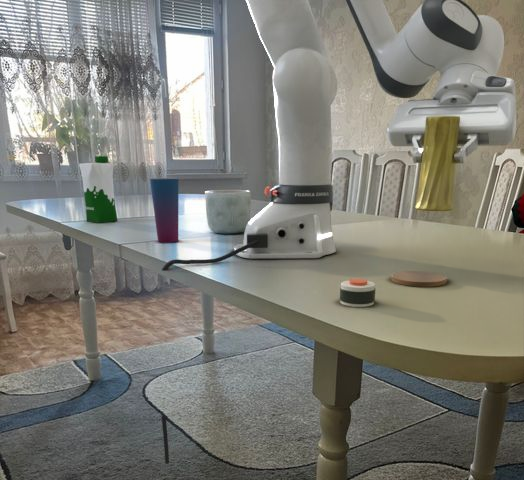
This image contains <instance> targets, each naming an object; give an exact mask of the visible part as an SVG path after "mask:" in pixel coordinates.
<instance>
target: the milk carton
mask: <svg viewBox="0 0 524 480" xmlns="http://www.w3.org/2000/svg"><path fill="white" fill-rule="evenodd" d="M114 164H115V163H113V162H109V157H108V156H106V155H105V156H104V155H103V156H102V155H100V156H98V155H96V156H94V162H86V163H78V166H79V169H80V174H81V179H82V187H83V195H84V204H85V215H86V217H85V218H86V222H89V223H96V224H101V223H103V224H104V223H110V222H118V214H117V209H116V208H117V207H116V201H115V189H114V179H113V177H114V176H113V175H114Z"/></svg>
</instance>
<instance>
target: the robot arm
mask: <svg viewBox="0 0 524 480" xmlns="http://www.w3.org/2000/svg"><path fill="white" fill-rule="evenodd" d="M245 2H246V3H247V6H248V10H249V12H250V15H251V17H252V20H253V23H254V24H255V28H256V31H257V34H258V36H259V39H260V41H261V43H262V44H263V47H264V49H265V51H266V52H267V55H268V57H269V60H270V61H271V63H272V66H273V70H272V87H273V97H274V110H275V122H276V131H277V138H278V184H276V185H275V186H273V187H272V186H270V185H269V186H266V187H265V188H264V190H263V192H264V194H265V195H266V197H269V204H268V205H266V206H265V207H264V208H263V209H262V210H260V211H259V212H258V213H257V214H255V215H254V216H253V217H252V218H250V221H249V222H248V223H247V225H246V228H245V231H244V232H243V241H242V242H243V243H241V244H240V243H238V244H236V245H234V247H233V251H231V252H228V253H226V254H223V255H221V256H219V257H216V258H207V259H171V260H169V261H167V262H166V263H165V264H164V266H163V267H161V271H162V272H163V271H164V272H165V271H167V270H168V269H169V268H170V267H171V266H174V265H205V264H206V265H209V264H216V263H219V262H223V261H225V260H227V259H230V258H231V257H234V256H238V257H240V258H245V259H252V260H253V259H319V258H321V257H323V256H326V255H331V254H334V253H336V252H337V249H336V246H335V245H336V244H335V239H334V235H333V234H334V233H333V226H332V211H333V205H334V186H333V184H332V164H333V163H332V162H333V139H332V138H333V137H332V136H333V135H332V112H331V111H332V109H331V106H332V104H333V103H334V101H335V99H336V96H337V93H338V78H337V74H336V72H335V69H334V66H333V63H332V61H331V58H330V56H329V55H330V54H329V52H328V50H327V47H326V45H325V42H324V39H323V37H322V34H321V32H320V29H319V25H318V23H317V20H316V18H315V16H314V13H313V11H312V6H311V4H310V2H309V0H245ZM345 3H346V5H347V7H348V9H349V12H350V14H351V16H352V18H353V21H354V22H355V25H356V27H357V29H358V32H359V34H360V37H361V39H362V41H363V43H364V45H365V47H366V50H367V52H368V54H369V57H370V60H371V63H372V67H373V71H374V74H375V77H376V81H377V83H378V85H379V87H380V88H381V89H382V90H383V92H385V93H386V94H387V95H389V96H391V97H394V98H398V99H409V100H408V101H406V102H404V103H402V104H399V106H398V107H397V109H396V112H395V114H394V115H393V117H391V120H390V122H389V124H388V126H387V136H388V140H389V142H390V144H391V145H392V147H413V152H412V153H413V154H412V161H413V164H422V154H423V147H424V136H425V125H426V117H433V116H460V125H459V135H458V148H456V151H455V152H456V153H455V154H454V160H455V161H454V162H455V163H456V164H465V162H466V160H467V157H469V156H470V155H471V154H472V153H473V152H475V151H476V150H477V149H478V147H482V146H484V147H485V146H486V147H487V146H491V147H493V146H494V147H495V146H497V147H499V146H501V147H503V146H508V145H509V144H511V143H512V142H513V141H514V140H515V136H516V131H517V130H516V129H517V92H516V91H517V90H516V84H515V80H514V79H513V78H511V77H505V76H500V75H498V73H499V69H500V66H501V63H502V60H503V55H504V49H505V34H504V30H503V27H502V25H501V23H500V22H499V21H497V19H495V18H494V17H492V16H490V15H486V14H477V13H476V12H475V11H474V10H473V8H471V7H470V5H469V4H468V3H466V2H465V1H463V0H424V1H423V2H422V4H421V5H419V7H418V8H417V9H416V10H415V12H413V14H412V15H411V16H410V18H409V19H408V20H407V21H406V23H405V25H404V26H403V27H402V28H401V29H400V30H399V32H398V33H397V30H396V28H395V26H394V23H393V21H392V19H391V17H390V14H389V12H388V9H387V8H386V5H385V3H384V0H345ZM437 73H439V74H440V77H439V81H438V82H437V86H436V88H435V91H434V92H433V93H434V94H433V96H432V98H424V99H412V98H414V97H416V96H417V95H419V93H420V92H421V91H422V90H423V88H425V86H426V85H427V84H428V83H429V81H430V80H431V78H433V76H435V74H437ZM410 98H411V99H410ZM166 416H167V415H161V425H162V436H163V451H164V464H165V465H168V464H170V454H169V438H168V437H169V436H168V426H167V417H166Z"/></svg>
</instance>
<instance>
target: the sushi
mask: <svg viewBox="0 0 524 480" xmlns="http://www.w3.org/2000/svg"><path fill="white" fill-rule="evenodd" d="M375 301H376V284H375V283H374V282H373V281H369V280H367V279H363V278H350V279H349V280H344V281H342V282H341V283H340V287H339V302H340V304H341V305H344V306H347V307H353V308H367V307H371V306H373V305H374V304H375Z"/></svg>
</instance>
